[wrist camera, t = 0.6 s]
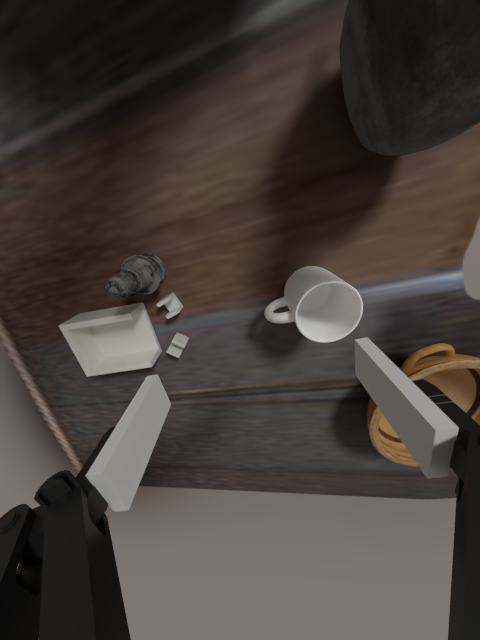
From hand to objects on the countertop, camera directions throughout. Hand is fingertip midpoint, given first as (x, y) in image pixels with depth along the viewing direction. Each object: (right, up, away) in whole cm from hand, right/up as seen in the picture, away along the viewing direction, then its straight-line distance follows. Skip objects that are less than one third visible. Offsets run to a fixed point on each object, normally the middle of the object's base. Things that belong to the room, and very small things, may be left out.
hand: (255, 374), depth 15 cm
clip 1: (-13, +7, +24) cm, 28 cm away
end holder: (-23, +1, +27) cm, 35 cm away
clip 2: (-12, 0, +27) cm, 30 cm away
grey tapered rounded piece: (-16, +12, +22) cm, 29 cm away
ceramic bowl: (+34, -10, +30) cm, 46 cm away
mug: (+8, +8, +23) cm, 26 cm away
